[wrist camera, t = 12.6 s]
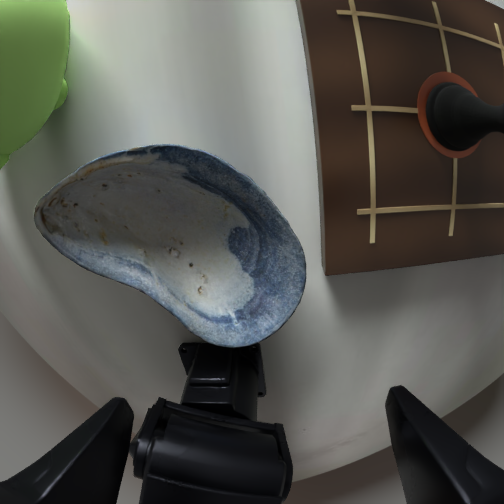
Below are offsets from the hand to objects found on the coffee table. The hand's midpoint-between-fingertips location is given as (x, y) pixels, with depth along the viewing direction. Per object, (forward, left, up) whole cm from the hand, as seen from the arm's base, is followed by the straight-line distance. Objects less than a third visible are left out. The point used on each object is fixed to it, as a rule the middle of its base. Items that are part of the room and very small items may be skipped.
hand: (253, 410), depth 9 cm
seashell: (+2, +5, -12) cm, 13 cm away
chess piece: (+9, -13, -11) cm, 19 cm away
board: (+9, -13, -12) cm, 20 cm away
